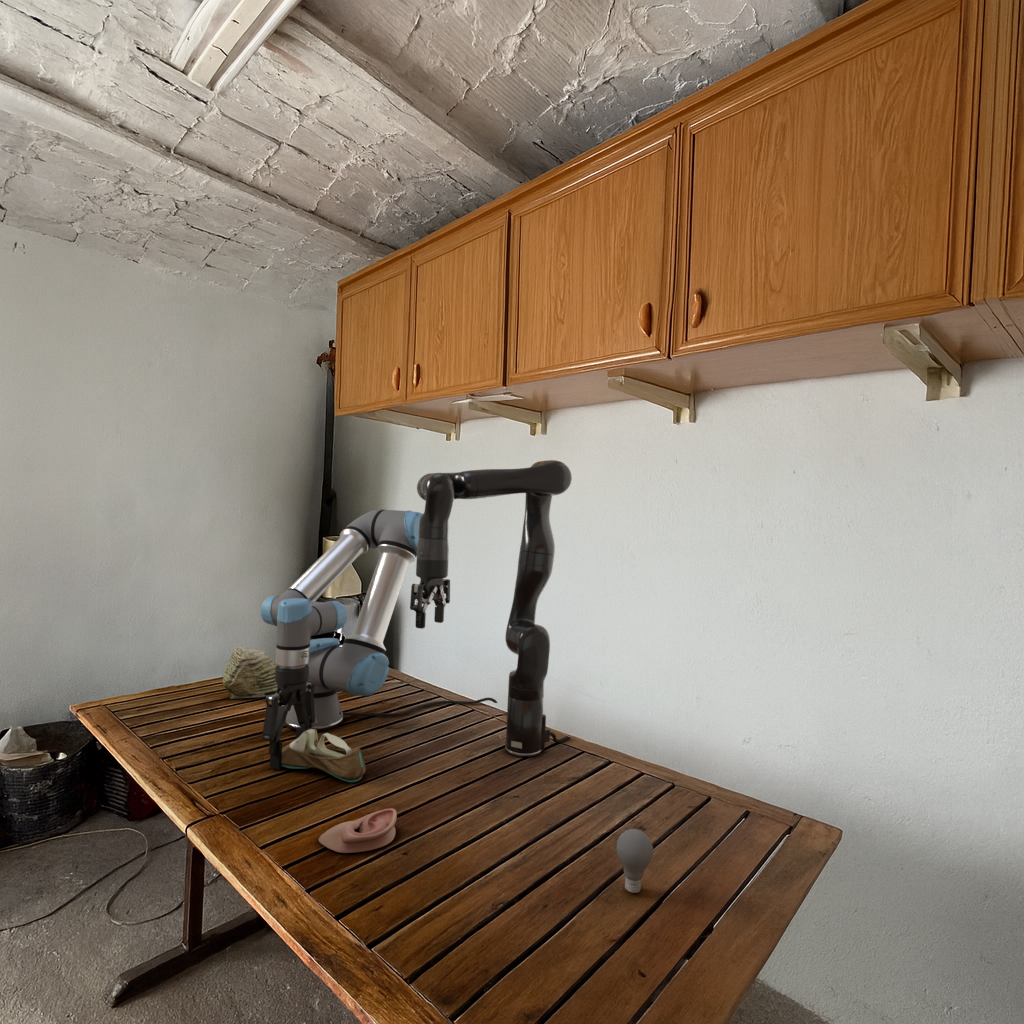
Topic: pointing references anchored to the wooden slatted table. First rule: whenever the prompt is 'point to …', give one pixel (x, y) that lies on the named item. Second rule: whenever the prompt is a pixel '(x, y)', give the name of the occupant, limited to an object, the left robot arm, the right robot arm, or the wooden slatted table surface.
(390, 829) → the anatomical model
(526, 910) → the wooden slatted table surface
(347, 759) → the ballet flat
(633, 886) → the light bulb
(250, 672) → the fossil
